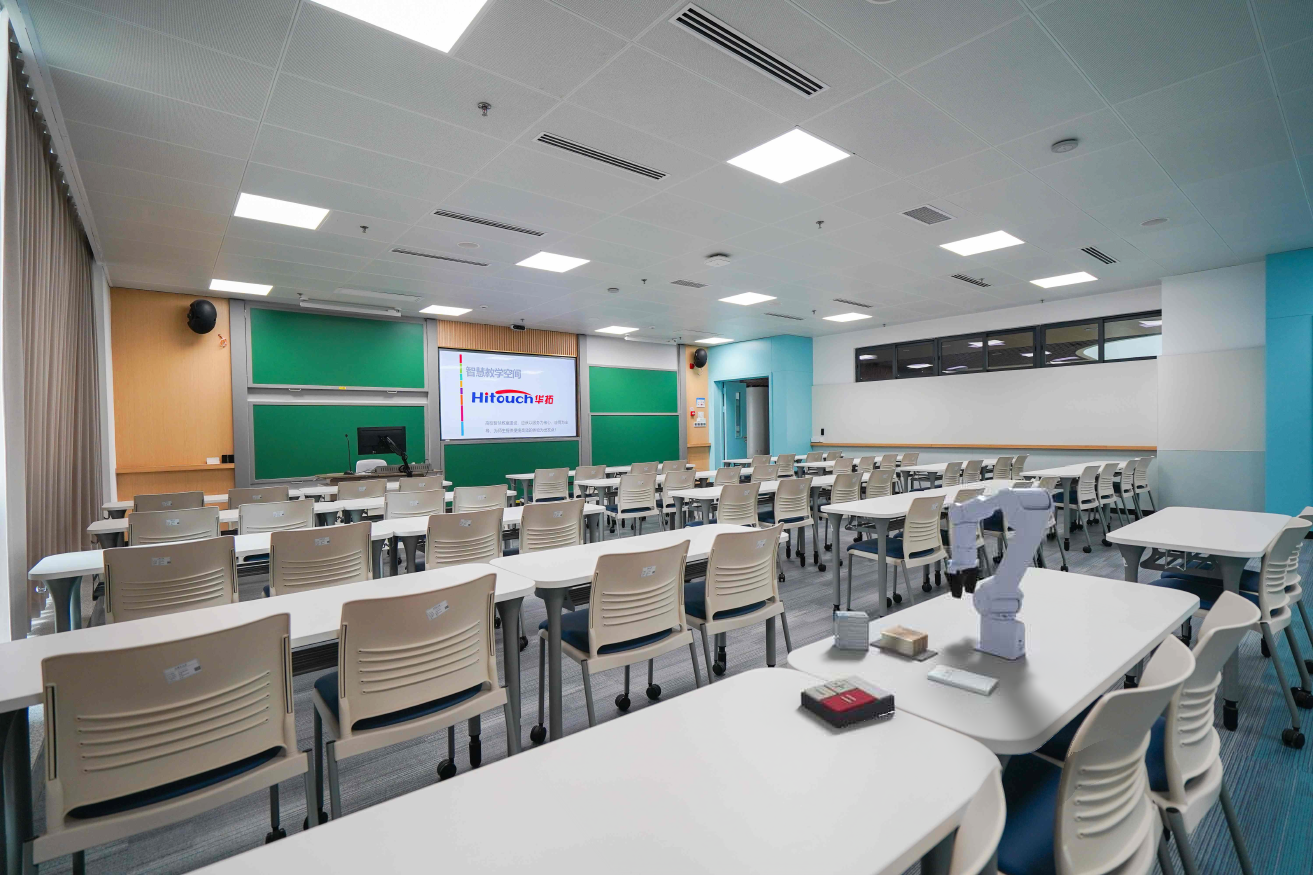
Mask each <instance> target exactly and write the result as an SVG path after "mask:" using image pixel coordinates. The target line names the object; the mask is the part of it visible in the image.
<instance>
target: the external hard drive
mask: <svg viewBox="0 0 1313 875" xmlns="http://www.w3.org/2000/svg"><path fill="white" fill-rule="evenodd" d="M927 679H928V680H932V681H934V682H939V683H941V684H945V685H950V686H952V687H955V688H960V689H963V690H967V691H970V692H974V693H977V692H978V694H980V695H984V694H985V696H990V694H991V693H992V692H993V690H995V688H996V687H997V686H998V685H999V679H998V678H995V677H994V678H993V677H990V676H985V675H981V674H978V673H973V672H969V671H966V670H962V669H959V668H954V667H952V666H951V667H950V666H947V665H943V664H938V665H937V666H935V667H934V668H933V669H931V671H930V672H928V674H927Z"/></svg>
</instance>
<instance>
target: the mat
mask: <svg viewBox="0 0 1313 875" xmlns="http://www.w3.org/2000/svg"><path fill="white" fill-rule="evenodd" d="M869 646H873V647H876V648H879V649H881V650H885V651H888V652H892V653H895V654H898V655H900V656H904V657H906V658H909V659H913V660H916V661H919V662H924V661H926V660H928V659H930V658H932V657H934V656H936V655H938V654H939V653H938V651H935V650H931V649H929V648H926V649H924V650H922V651H920V652H918V653H915V654H913V655H909V654H906V653H902V652H899V651H896V650H893V649H890V648H887V647H884V646H882V637H880V638H879V639H876V640H875V641H872V642H869Z"/></svg>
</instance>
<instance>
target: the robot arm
mask: <svg viewBox="0 0 1313 875" xmlns="http://www.w3.org/2000/svg"><path fill="white" fill-rule="evenodd" d="M999 509H1000V510H1001V512H1002V514H1003V516H1004V518H1005V520H1006V522H1007V525H1008V527H1009V528H1011V529H1012V530H1014V533H1013V535H1012V538H1011V540H1010V542H1009V544H1008V546H1007V548H1006V551H1005V552H1004V555H1003V557H1002V559H1001V561H1000V562H999V565H998V567H997V569H996V571H995V573H994V576H993V577H991V579H989V580H987V581H984V582H983V583H981V584H980V586H979V587H978V588H977V589H976V587H977V583H978V580H979V578H980V576H981V575H982V573H983V571H984V569H983V567H979V566H980V559H979V558H978V559H977V558H976V544H977V542H976V537H977V535H976V531H978V529H979V523H980V522H981V520H984V519H987V518H990V517H991V516H993V514H994V513H995V511H997V510H999ZM1055 509H1056V508H1055V503H1054V499H1053V496H1052V494H1051V492H1050V491H1049V490H1048V489H1047V488H1044V487H1038V488H1036V487H1035V488H1011V487H1006V488H1005V487H1004V488H1002V489H999V490H998V492H996V493H995V494H991V495H990V496H984V495H982V494H976V495H973V498H972V499H965V500H964V501H963V502H962V503H957V502H952V504H950V505H949V506H948V509H947V511H948V512H947V514H948V515H947V516H948V519H949V522H950V523H951V524H952V537H951V538H952V541H951V542H952V543H951V545H952V546H951V547H952V548H951V550H952V553H951V554H952V555H951V556H952V557H951V559H948V560H947V563H948V565H947V566H946V567H947V569H945V570H944V571H943V575H944V576H945V578H946V580H947V582H948V586H949V589H950V594H951V597H952V598H954V599H959V600H961V599H962V597H963V590H964V592H965V593H966V594H972V605H973V607H974V609H975V610H976V612H977V614H979V615H980V619H979V620H980V626H979V627H980V628H979V630H980V633H979V634H980V635H979V640H980V641H979V643H977V644H976V645H973V649H974V650H977V651H980V652H984V653H988V654H992V655H994V656H998V657H1002V658H1005V659H1009V660H1011V661H1012V660H1016V659H1017V658H1019V657H1021V656H1022V655H1025V654H1026V653H1027V651H1026V625H1025V624H1024V622H1023V621H1021V620H1018V619H1016V618H1017V614H1019V613H1020V612H1021V610H1022V606H1023V600H1024V597H1025V595H1024V592H1023V590H1022V589H1021V587H1020V583H1021V581H1022V580H1023V578H1024V576H1025V573H1026V571H1027V570H1028V567H1029V566H1030V564H1031V562H1032V560H1033V558H1034V556H1035V555H1036V552H1037V550H1038V548H1039V546H1040V544H1041V543H1042V540H1043V539H1044V536H1045V532H1046V527H1047V524H1048V522H1049V521H1050V519H1051V516H1052V514H1053V513H1054V511H1055Z"/></svg>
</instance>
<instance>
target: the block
mask: <svg viewBox="0 0 1313 875" xmlns="http://www.w3.org/2000/svg"><path fill="white" fill-rule="evenodd" d="M881 638H882V646H884V647H887V648H890V649H893V650H896V651H899V652H902V653H906V654H909V655H913V654H915V653H918V652H920V651H922V650H924V649H929V648H928V646H929V644H928V643H929V634H928V633H926V632H921V631H918V630H914V629H912V628H911V629H910V628H907V627H904V626H900V625H898V626H895V627H892V628H889V629H887V630H884V631H882V632H881Z"/></svg>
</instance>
